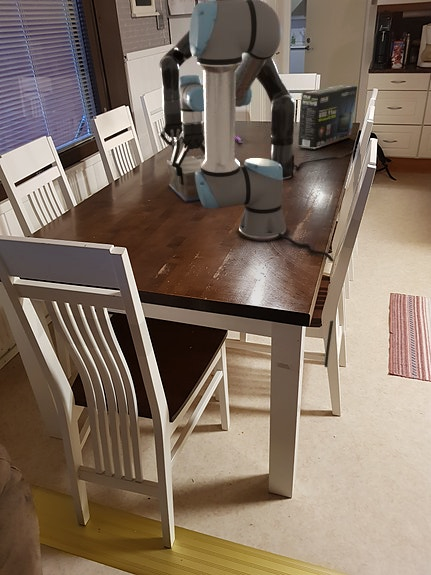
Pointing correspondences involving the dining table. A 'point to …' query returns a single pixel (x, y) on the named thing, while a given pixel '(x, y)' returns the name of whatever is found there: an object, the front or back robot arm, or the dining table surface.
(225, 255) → the dining table surface
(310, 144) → the router box
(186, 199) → the small box
